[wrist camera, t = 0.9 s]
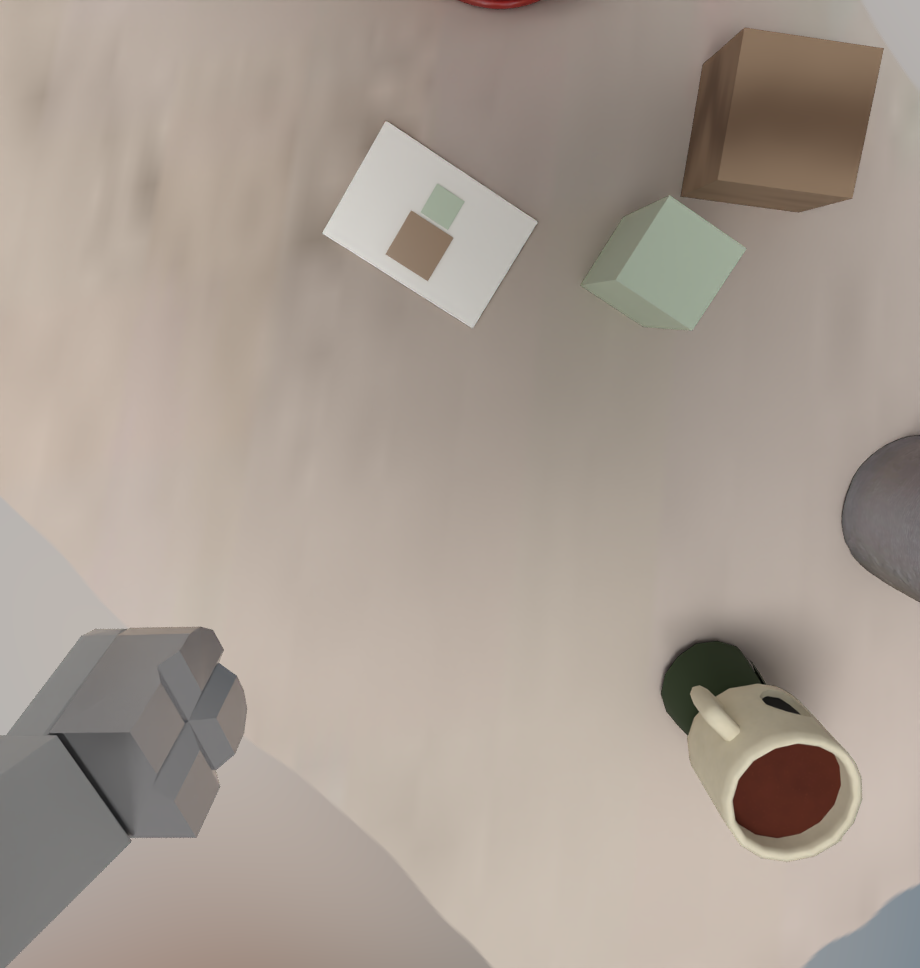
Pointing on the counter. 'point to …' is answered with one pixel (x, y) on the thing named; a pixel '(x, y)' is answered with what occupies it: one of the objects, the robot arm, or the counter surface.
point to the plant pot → (499, 3)
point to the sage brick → (663, 266)
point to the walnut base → (781, 121)
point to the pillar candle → (887, 515)
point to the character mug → (761, 755)
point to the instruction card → (429, 225)
